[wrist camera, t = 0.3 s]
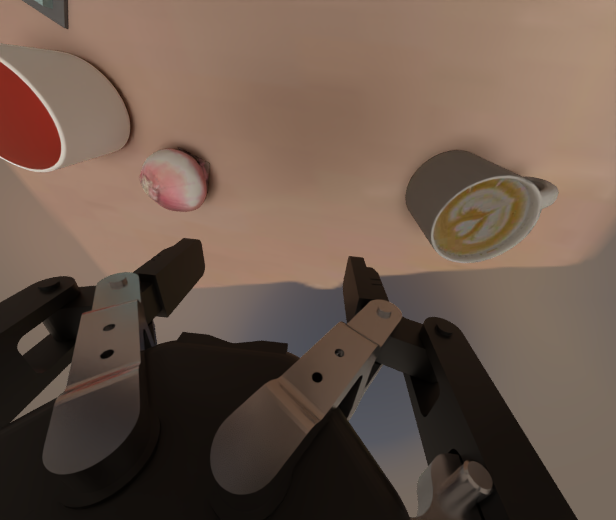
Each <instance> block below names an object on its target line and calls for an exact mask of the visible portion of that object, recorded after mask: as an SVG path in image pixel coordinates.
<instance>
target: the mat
mask: <svg viewBox="0 0 616 520" xmlns="http://www.w3.org/2000/svg"><path fill="white" fill-rule="evenodd" d="M22 1H24V2H25V3H27V4H28V5H30V6H32V7H33V8H35V9H36V10H38V11H39V12H41V13H42V14H44V15H45V16H47V17H48V18H50V19H51V20H53V21H54V22H56V23H57V24H59V25H61V26H62V27H64V28H66V29H68V5H67V0H52V2H53V9H52V8H48V7H45V6H42V5H41V4H39V3H38V2H36V1H35V0H22Z"/></svg>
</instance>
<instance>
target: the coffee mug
mask: <svg viewBox="0 0 616 520" xmlns="http://www.w3.org/2000/svg"><path fill="white" fill-rule="evenodd" d="M558 193H559V191H558V189H557V187H556V186H555V185H553V184H552V183H550V182H548V181H546V180H543V179H539V178H534V177H522V176H520V175H518V174H516V173H513V172H511V171H509V170H507V169H505V168H503V167H500V166H498V165H496V164H494V163H492V162H490V161H487V160H485V159H483V158H481V157H479V156H477V155H474V154H472V153H470V152H467V151H458V150H454V151H448V152H444V153H441V154H439V155H437V156H435V157H433V158H431V159H430V160H428V161H427V162H425V163H424V164H423V165H422V166H421V167H420V168H419V169H418V170H417V171H416V172H415V174H414V175H413V176H412V178H411V180H410V182H409V184H408V187H407V190H406V205H407V208H408V210H409V211H410V213H411V214H412V216H413V217H414V219H415V221H416V222H417V224H418V225H419V227H420V228H421V230H422V231H423V233H424V234H425V236H426V237H427V239H428V240H429V242H430V244H431V245H432V247H433V248H434V249H435V251H436V252H437V253H438V254H439V255H440V256H442V257H443V258H445V259H447V260H450V261H453V262H459V263H474V262H480V261H484V260H487V259H491V258H493V257H496V256H498V255H500V254H503V253H504V252H506V251H508V250H509V249H511V248H513V247H514V246H515V245H517V244H518V243H519V242H520V241H521V240H523V239H524V238H525V237H526V236H527V235H528V234H529V233H530V231H531V230H532V228H533V227H534V226H535V224H536V222H537V220H538V219H539V216H540V213H541V209H543V208H546V207H548V206H550V205H552V204H553V203H554V201H555V200H556V198H557V196H558Z"/></svg>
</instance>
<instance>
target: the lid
mask: <svg viewBox="0 0 616 520" xmlns="http://www.w3.org/2000/svg"><path fill="white" fill-rule="evenodd" d="M35 1H36V2H38V3H39V4H41V5H42V6H45V7H48V8H52V9H53V2H52V0H35Z"/></svg>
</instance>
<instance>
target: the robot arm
mask: <svg viewBox="0 0 616 520" xmlns="http://www.w3.org/2000/svg"><path fill="white" fill-rule="evenodd" d="M204 270H205V263H204V256H203V250H202V244H201V241H200V240H197V239H188V238H183V239H182V240H181V241H179V242H178V243H177V244H175V245H174V246H172V247H169V248H167V249H164V250H163V251H161V252H160V253H158V254H157V255H156V256H154V257H153V258H152V259H151V260H149V261H148V262H146V263H145V264H144V265H142V266H141V267H140V268H138V269H137V270H136V271H134V272H133V273H130V272H124V273H117V274H114V275H110V276H108V277H106V278H104V279H102V280H101V281H99V282H98V283H97V285H96V286H87V287H78V286H77V283H76V282H75V279H73V278H72V277H67V276H63V277H62V276H60V277H53V278H49V279H45V280H42V281H39V282H37V283H35V284H32V285H30V286H29V287H27V288H25V289H24V290H22V291H20V292H18V293H16V294H15V295H13V296H11V297H9V298H7V299H6V300H4V301H2V302H1V303H0V520H578V519H577V518H576V516H575V514H574V513H573V511H572V509H571V508H570V506H569V505H568V503H567V501H566V500H565V498H564V497H563V495H562V493H561V492H560V490H559V489H558V487H557V485H556V484H555V482H554V480H553V479H552V477H551V476H550V474H549V472H548V471H547V469H546V467H545V466H544V464H543V463H542V461H541V459H540V458H539V456H538V454H537V453H536V451H535V450H534V448H533V446H532V445H531V443H530V442H529V440H528V438H527V437H526V435H525V433H524V432H523V430H522V429H521V427H520V425H519V424H518V422H517V420H516V419H515V418H514V416H513V414H512V412H511V411H510V409H509V407H508V406H507V404H506V403H505V401H504V399H503V398H502V396H501V394H500V393H499V391H498V390H497V388H496V386H495V385H494V383H493V382H492V380H491V378H490V377H489V375H488V374H487V372H486V370H485V369H484V367H483V365H482V364H481V362H480V361H479V359H478V358H477V356H476V354H475V352H474V351H473V349H472V348H471V346H470V344H469V343H468V341H467V339H466V338H465V336H464V335H463V333H462V332H461V330H460V329H459V328H458V327H457V326H455V325H454V324H453V323H451V322H449V321H447V320H445V319H442V318H438V317H429V318H427V319H426V320H425V321H424V323H423V324H421V323H418V322H415V321H412V320H409V319H406V318H404V317H402V313H401V311H400V309H399V308H398V307H397V306H395V305H394V304H392V303H390V302H389V300H388V297H387V295H386V293H385V290H384V287H383V286H382V282H381V281H380V277H379V274H378V273H377V272H376V271H375V270H374V269H373V268H371V267H366V264H365V261H364V258H362V257H353V256H349V258H348V262H347V266H346V271H345V276H344V281H343V296H344V304H345V311H346V320H347V324H346V323H344V322H339V323H338V324H337V325H336V326H334V327H333V328H332V329H331V330H330V331H329V332H328V333H327V334H326V335H325V336H324V337H323V338H322V339H321V340H319V341H318V342H317V343H316V344H315V345H314V346H313V347H312V348H311V349H310V350H309V351H308V352H307V353H305V354H304V355H303V356H302V357H301V358H299V357H297V356H295V355H293V354H292V353H289V352H287V349H288V344H287V343H278V342H269V341H254V342H244V343H230V342H227V341H224V340H221V339H219V338H216V337H213V336H210V335H206V334H196V333H187V332H182V334H181V335H180V337H179V338H178V339H177V340H176V341H170V342H165V343H162V344H158V345H157V339H156V332H155V324H154V321H153V319H154V318H155V317H156V316H159V317H168V316H169V315H170V314H171V313H172V312H173V310H174V309H175V308H176V307H177V306H178V304H179V303H180V302H181V301H182V300H183V298H184V297H185V296H186V295H187V294H188V292H189V291H190V290H191V289H192V288H193V287H194V285H195V284H196V283H197V282H198V281H199V279H200V278H201V277H202V276H203V274H204ZM41 322H43V324H44V325H45V327H46V328H47V330H48V331H49V333H50V334H49V335H48V336H47V337H45V338H44V339H43V340H42V341H40V342H39V343H38V344H37V345H35V346H34V347H33V348H32V349H30V350H29V351H28V352H27V353H25V354H24V355H23V356H22V355H21V354H20V353H19V351H18V349H17V344H18V342H19V340H20V339H21V338H22V336H24V335H25V334H26V333H28V332H29V331H30V330H32V329H33V328H35V327H36V326H37V325H39V324H40V323H41ZM70 363H71V367H70V371H69V376H68V381H67V386H66V389H65V391H64V392H63V393H62V394H60V395H59V396H58V397H57V398H55V399H53V400H52V401H50V402H48V403H46V404H44V405H42V406H40V407H39V408H37V409H35V410H33V411H31V412H30V413H27V414H26V415H24V416H22V417H20V418H18V419H16V420H15V421H13V422H11V421H12V420H13V419H14V418H15V417H16V416H17V415H18V414H19V413H20V412H21V411H22V410H23V409H24V408H25V407H26V406H27V405H28V404H29V403H30V402H31V401H32V400H33V399H34V398H35V397H36V396H38V395H39V394H40V393H41V392H42V390H44V388H46V386H47V385H49V384H50V383H51V382H52V381H53V380H54V379H55V378H56V377H57V376H58V375H59V374H60V373H61V372H62V371H63V370H64V369H65V368H66V367H67V366H68V365H69V364H70ZM383 365H386V366H388V367H391V368H393V369H396V370H398V371H401V372H403V374H404V377H405V381H406V384H407V388H408V392H409V396H410V400H411V403H412V407H413V411H414V415H415V418H416V422H417V426H418V430H419V433H420V437H421V441H422V445H423V448H424V452H425V456H426V460H427V463H428V467H427V468H426V469H425V471H424V472H423V473H422V474H421V476H420V477H419V480H418V483H417V497H418V512H417V516H416V517H409V515H408V512H407V510H406V508H405V506H404V504H403V502H402V500H401V498H400V496H399V495H398V493H397V491H396V490H395V489H394V487H393V485H392V484H391V483H390V481H389V480H388V478H387V477H386V475H385V474H384V473H383V471H382V470H381V468H380V467H379V465H378V464H377V462H376V461H375V459H374V458H373V456H372V455H371V453H370V452H369V451H368V449H367V448H366V446H365V445H364V443H363V442H362V440H361V439H360V437H359V436H358V435H357V433H356V432H355V430H354V429H353V427H352V426H351V424H350V423H349V420H350V418H351V417H352V415H353V413H354V411H355V410H356V408H357V406H358V404H359V402H360V400H361V398H362V396H363V395H364V393H365V391H366V390H367V388H368V387H369V385H370V384H371V382H372V381H373V379H374V378H375V376H376V375H377V373H378V372H379V370H380V368H381V367H382V366H383ZM10 422H11V423H10Z"/></svg>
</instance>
